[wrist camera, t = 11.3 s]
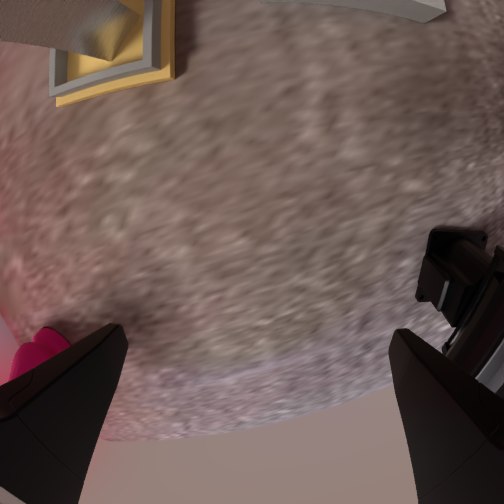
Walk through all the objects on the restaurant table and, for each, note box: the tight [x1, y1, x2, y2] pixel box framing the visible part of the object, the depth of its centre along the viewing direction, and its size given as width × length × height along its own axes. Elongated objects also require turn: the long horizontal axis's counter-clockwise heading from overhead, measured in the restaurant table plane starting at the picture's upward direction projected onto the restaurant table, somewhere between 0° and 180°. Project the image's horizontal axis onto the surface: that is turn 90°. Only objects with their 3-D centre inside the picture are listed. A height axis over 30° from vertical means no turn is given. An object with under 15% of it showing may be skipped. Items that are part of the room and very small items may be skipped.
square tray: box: [49, 0, 175, 107], centre depth 14 cm, size 10×10×3 cm
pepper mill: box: [8, 328, 71, 382], centre depth 20 cm, size 7×7×20 cm
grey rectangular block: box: [0, 0, 140, 62], centre depth 8 cm, size 4×4×13 cm
